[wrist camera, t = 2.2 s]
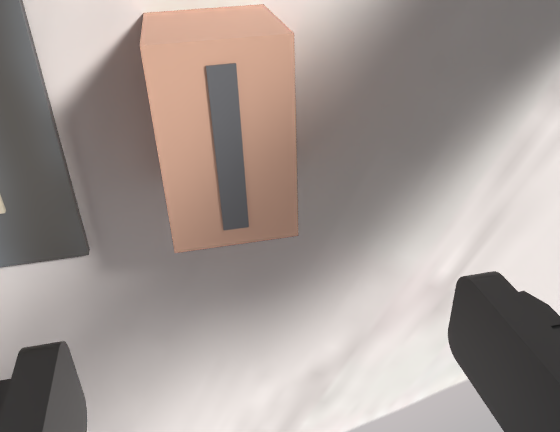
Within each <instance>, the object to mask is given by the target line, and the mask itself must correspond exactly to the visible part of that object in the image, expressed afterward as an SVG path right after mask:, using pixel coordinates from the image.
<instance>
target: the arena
mask: <svg viewBox="0 0 560 432" xmlns="http://www.w3.org/2000/svg"><path fill="white" fill-rule="evenodd" d="M85 255H89V246H88V242H87V239H86V235H85V231H84V227H83V224H82V220H81V216H80V213H79V209H78V205H77V201H76V198H75V194H74V190H73V187H72V183H71V179H70V176H69V172H68V168H67V164H66V161H65V157H64V153H63V150H62V146H61V142H60V138H59V135H58V131H57V127H56V124H55V120H54V116H53V113H52V109H51V105H50V101H49V98H48V94H47V90H46V87H45V83H44V79H43V75H42V72H41V68H40V64H39V61H38V57H37V53H36V50H35V46H34V42H33V38H32V35H31V31H30V27H29V24H28V20H27V16H26V12H25V9H24V5H23V1H22V0H0V267H6V266H13V265H20V264H27V263H35V262H42V261H49V260H56V259H64V258H71V257H78V256H85Z"/></svg>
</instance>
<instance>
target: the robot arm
mask: <svg viewBox="0 0 560 432" xmlns="http://www.w3.org/2000/svg"><path fill="white" fill-rule="evenodd" d="M448 340H449V345H450V348H451V351H452V354H453V356H454V358H455V359H456V361H457V362H458V364H459V365H460V367H461V368H462V370H463V371H464V373H465V374H466V376H467V377H468V379H469V380H470V382H471V383H472V384H473V386H474V388H475V389H476V391H477V392H478V394H479V395H480V396H481V398H482V400H483V401H484V402H485V404H486V405H487V407H488V408H489V410H490V411H491V413H492V414H493V416H494V417H495V419H496V420H497V422H498V423H499V425H500V426H501V428H502V429H503V431H504V432H560V316H559V315H558V314H557V313H556V312H555V311H554V310H553V309H552V308H551V307H550V306H549V305H548V304H546V303H544V302H543V301H541V300H539V299H537V298H536V297H534V296H532V295H530V294H529V293H527V292H525V291H521V292H518V291H517V290H516V289H515V288H514V287H513V286H512V285H511V284H510V283H509V282H508V281H507V280H506V279H505V278H504V277H503V276H502V275H501V274H500V273H498V272H494V271H493V272H487V273H481V274H475V275H469V276H463V277H460V278H459V280H458V281H457V284H456V289H455V294H454V300H453V306H452V311H451V317H450V322H449V328H448ZM86 430H87V410H86V402H85V397H84V393H83V390H82V387H81V384H80V381H79V378H78V375H77V372H76V369H75V366H74V363H73V360H72V356H71V353H70V350H69V348H68V345H67V344H66V342H64V341H62V342H56V343H50V344H44V345H37V346H31V347H25V348H22V349H21V350H20V352H19V354H18V357H17V360H16V364H15V367H14V371H13V374H12V378H11V379H7V380H1V381H0V432H86Z"/></svg>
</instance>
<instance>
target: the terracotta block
mask: <svg viewBox="0 0 560 432" xmlns="http://www.w3.org/2000/svg"><path fill="white" fill-rule="evenodd" d="M140 51H141V57H142V63H143V69H144V75H145V81H146V86H147V92H148V98H149V104H150V110H151V116H152V122H153V128H154V134H155V139H156V145H157V151H158V157H159V163H160V169H161V175H162V181H163V187H164V193H165V198H166V204H167V210H168V216H169V222H170V228H171V234H172V240H173V246H174V252H175V253H180V252H187V251H194V250H201V249H208V248H215V247H222V246H229V245H236V244H244V243H251V242H258V241H265V240H272V239H279V238H286V237H293V236H298V197H297V150H296V103H295V56H294V33H293V32H292V31H291V30H290V29H289V28H288V27H287V26H286V25H285V24H284V23H283V22H282V21H281V20H280V19H278V18H277V17H276V16H275V15H274V14H273V13H272V12H271V11H270V10H269V9H268V8H267V7H266V6H265V5H264V4H260V5H247V6H233V7H219V8H205V9H191V10H178V11H164V12H150V13H143V21H142V30H141V38H140Z"/></svg>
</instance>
